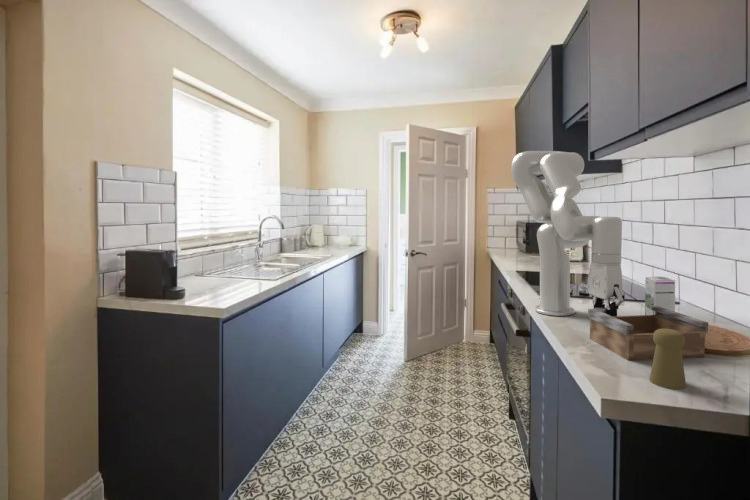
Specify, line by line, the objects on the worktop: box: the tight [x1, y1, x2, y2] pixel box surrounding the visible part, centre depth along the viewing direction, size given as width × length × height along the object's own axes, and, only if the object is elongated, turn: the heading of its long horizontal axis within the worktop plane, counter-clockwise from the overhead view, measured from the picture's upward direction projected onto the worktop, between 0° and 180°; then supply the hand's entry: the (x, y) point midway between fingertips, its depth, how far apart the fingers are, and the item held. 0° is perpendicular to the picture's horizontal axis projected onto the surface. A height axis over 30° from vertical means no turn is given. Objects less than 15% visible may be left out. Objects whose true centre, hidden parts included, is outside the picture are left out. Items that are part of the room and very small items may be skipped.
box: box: [587, 306, 709, 361], centre depth 98 cm, size 16×19×8 cm
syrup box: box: [644, 276, 676, 315], centre depth 115 cm, size 6×6×14 cm
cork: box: [649, 329, 687, 390], centre depth 78 cm, size 6×6×11 cm
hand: (604, 319), depth 115 cm, fingers open, 5 cm apart
